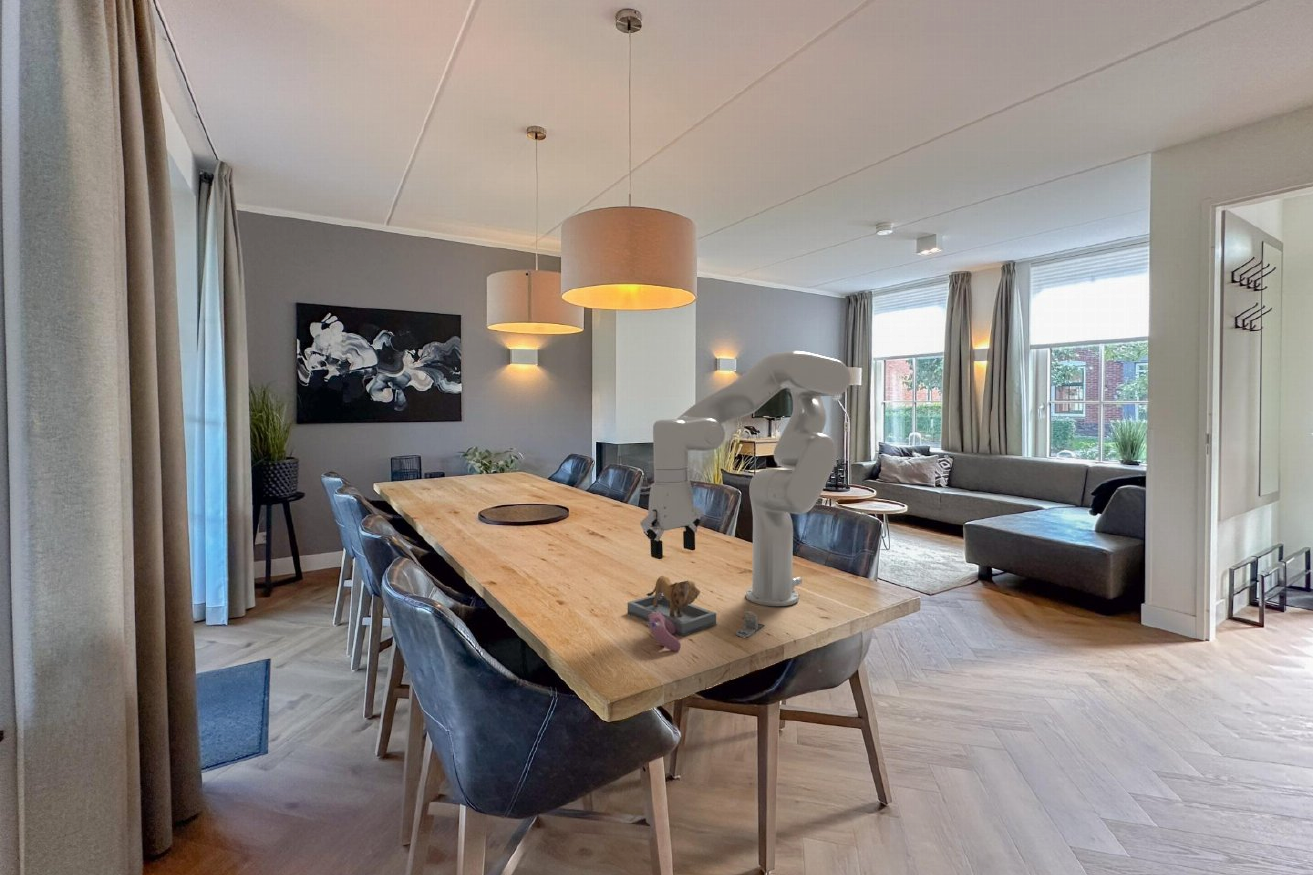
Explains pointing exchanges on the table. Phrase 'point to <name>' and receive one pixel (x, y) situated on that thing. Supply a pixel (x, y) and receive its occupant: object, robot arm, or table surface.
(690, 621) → the slate tray
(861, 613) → the table surface
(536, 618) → the table surface
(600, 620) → the table surface
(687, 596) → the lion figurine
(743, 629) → the strap clip
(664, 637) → the pink curved piece
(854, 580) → the table surface
